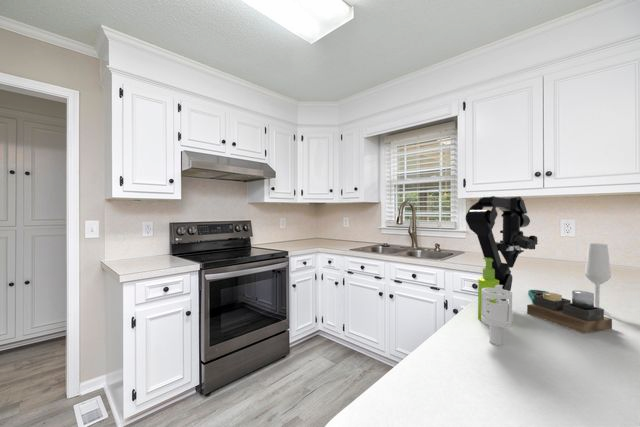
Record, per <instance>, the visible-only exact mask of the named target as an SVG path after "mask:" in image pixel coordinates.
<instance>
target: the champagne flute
mask: <svg viewBox="0 0 640 427" xmlns="http://www.w3.org/2000/svg"><path fill="white" fill-rule="evenodd" d="M586 254H587V255H586V261H585V267H584V268H585V269H584V276H585V277H586V278H587V279H588V280H589V281H590V282H591V283H593V284H594V307H598V308H602V307H601V306H600V304H601V303H600V296H601V294H600V289H601V285H602V284H604V283H606V282H608V281H610V279H611V277H612V274H611V265H610V255H609V248H608V243H600V242H599V243H598V242H589V243H588V245H587V253H586ZM604 316H611V313H610V312H609V311H607V310H605V309H604Z"/></svg>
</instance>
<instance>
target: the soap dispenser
mask: <svg viewBox="0 0 640 427" xmlns="http://www.w3.org/2000/svg"><path fill="white" fill-rule="evenodd" d="M483 260H484V261H485V260H486V261H485V267H483V268H482V277H479V278H478V279H477V280H478V285H477V286H478V290H477V292H478V293H477V294H478V296H477V297H478V298H477V299H478V300H477V304H478V305H477V309H478V310H477V319H478V320H479V321H481V322H483V321H482V320H481V300H482V294H481V289H482V288H495V285H499V280H497V279H495V269H493V268H492V262H493V259H492V258H485V257H484V256H483ZM489 293H494V294H496V292H489ZM485 297H487V296H485ZM496 300H497V299H495V300H490V302H491V303H495V304H496Z"/></svg>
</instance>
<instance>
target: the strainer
mask: <svg viewBox="0 0 640 427" xmlns="http://www.w3.org/2000/svg"><path fill="white" fill-rule="evenodd" d="M502 286H503V285H495V288H482V289H481V294H482V300H481V320H482V321H481V320H480V321H481V322H483V323H484V324H486V325H489V342H490V344H493V345H496V346H502V345H503V344H504V341H503V340H504V336H503V335H504V328H509V327H512V326H513V292H512V291H508V290H504V289H502ZM489 292H496V294H494V293H489ZM485 296H487V297H485ZM495 299H497V300H496V304H495V303H491V302H490V300H495ZM500 299H506V301H502V300H500Z"/></svg>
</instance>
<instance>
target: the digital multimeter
mask: <svg viewBox="0 0 640 427" xmlns="http://www.w3.org/2000/svg"><path fill="white" fill-rule="evenodd" d="M527 292H528V293H527V295H528V296H529V298H530V299H531V300H530V301H531V303H532V304H535V296H540V295H543V293H546V292H547V293H550V292H549V291H546V290H541V289H540V290H539V289H529V290H528V291H527Z"/></svg>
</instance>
